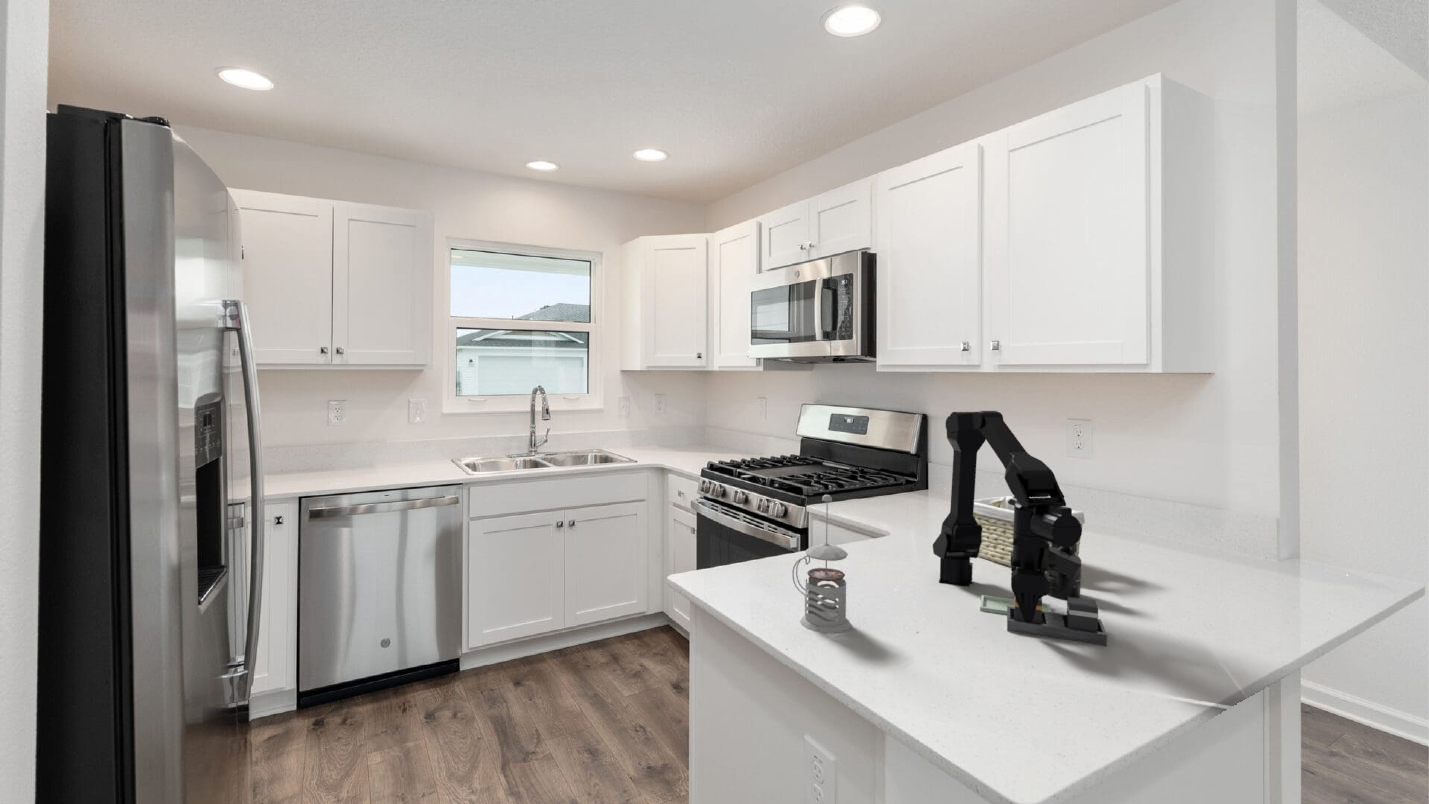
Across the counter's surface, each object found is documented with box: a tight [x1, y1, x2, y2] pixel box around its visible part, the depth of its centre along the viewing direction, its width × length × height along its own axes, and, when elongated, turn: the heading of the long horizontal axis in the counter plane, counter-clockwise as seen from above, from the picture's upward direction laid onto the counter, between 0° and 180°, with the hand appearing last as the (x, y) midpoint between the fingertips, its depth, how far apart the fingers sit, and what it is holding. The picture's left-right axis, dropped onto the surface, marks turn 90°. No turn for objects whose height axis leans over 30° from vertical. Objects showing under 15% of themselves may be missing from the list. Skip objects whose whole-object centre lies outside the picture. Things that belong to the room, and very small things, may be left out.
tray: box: [979, 594, 1052, 616], centre depth 133 cm, size 13×8×1 cm, turn 66°
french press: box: [791, 494, 852, 634], centre depth 126 cm, size 10×12×25 cm
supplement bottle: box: [1045, 543, 1082, 601], centre depth 142 cm, size 7×7×12 cm
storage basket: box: [973, 495, 1086, 572], centre depth 168 cm, size 24×16×15 cm
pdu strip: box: [1006, 606, 1108, 647], centre depth 122 cm, size 16×8×2 cm, turn 66°
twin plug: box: [1066, 597, 1099, 632], centre depth 120 cm, size 5×5×6 cm
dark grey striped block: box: [1014, 597, 1043, 623], centre depth 124 cm, size 5×5×6 cm
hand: (1027, 614), depth 124 cm, fingers open, 9 cm apart
